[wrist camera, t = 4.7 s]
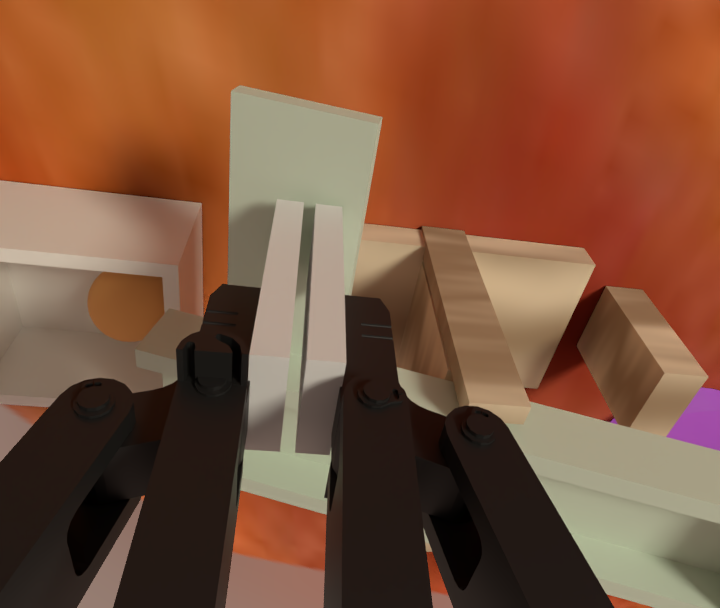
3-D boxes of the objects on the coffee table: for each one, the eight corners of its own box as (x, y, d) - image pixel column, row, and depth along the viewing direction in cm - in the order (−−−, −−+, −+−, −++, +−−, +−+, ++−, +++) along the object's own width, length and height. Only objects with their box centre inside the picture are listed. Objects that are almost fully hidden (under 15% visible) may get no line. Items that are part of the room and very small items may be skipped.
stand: (291, 211, 26) (272, 387, 17) (662, 253, 28) (817, 428, 19) (278, 351, 31) (259, 544, 22) (594, 377, 33) (692, 562, 24)
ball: (92, 245, 25) (72, 292, 23) (175, 250, 26) (165, 295, 23) (102, 307, 27) (84, 357, 25) (178, 310, 28) (169, 359, 25)
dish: (-24, 177, 24) (-94, 238, 20) (202, 203, 25) (178, 265, 21) (16, 328, 29) (-34, 401, 25) (203, 343, 30) (184, 416, 26)
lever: (157, 64, 16) (96, 91, 14) (1036, 260, 14) (1142, 330, 12) (176, 417, 24) (141, 471, 22) (725, 569, 23) (750, 645, 20)
